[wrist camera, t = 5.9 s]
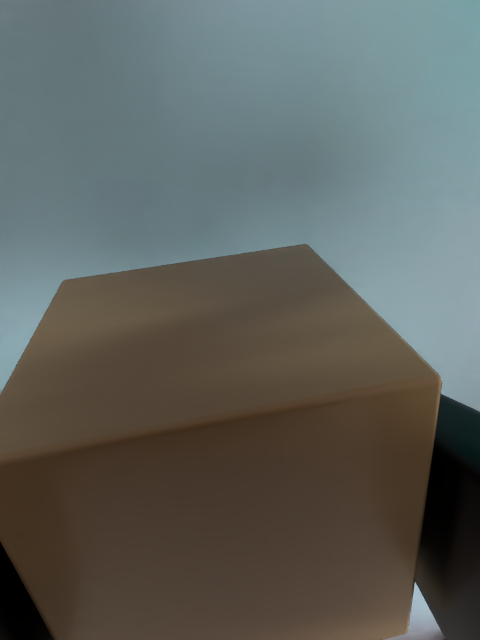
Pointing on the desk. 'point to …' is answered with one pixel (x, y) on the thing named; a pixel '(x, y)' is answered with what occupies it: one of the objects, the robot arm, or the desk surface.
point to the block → (217, 456)
